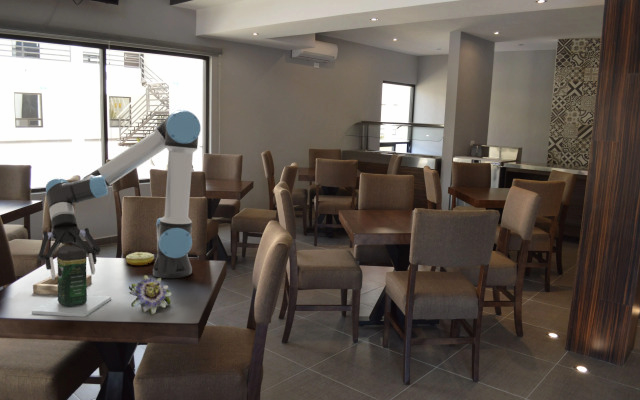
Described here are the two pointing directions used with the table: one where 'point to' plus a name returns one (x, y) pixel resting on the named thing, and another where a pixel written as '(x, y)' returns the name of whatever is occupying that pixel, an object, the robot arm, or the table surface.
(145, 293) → the passion flower
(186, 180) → the robot arm
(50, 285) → the holder collar
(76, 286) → the coffee jar
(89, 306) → the ceramic tile
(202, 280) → the table surface
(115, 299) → the table surface
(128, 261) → the decorated donut
